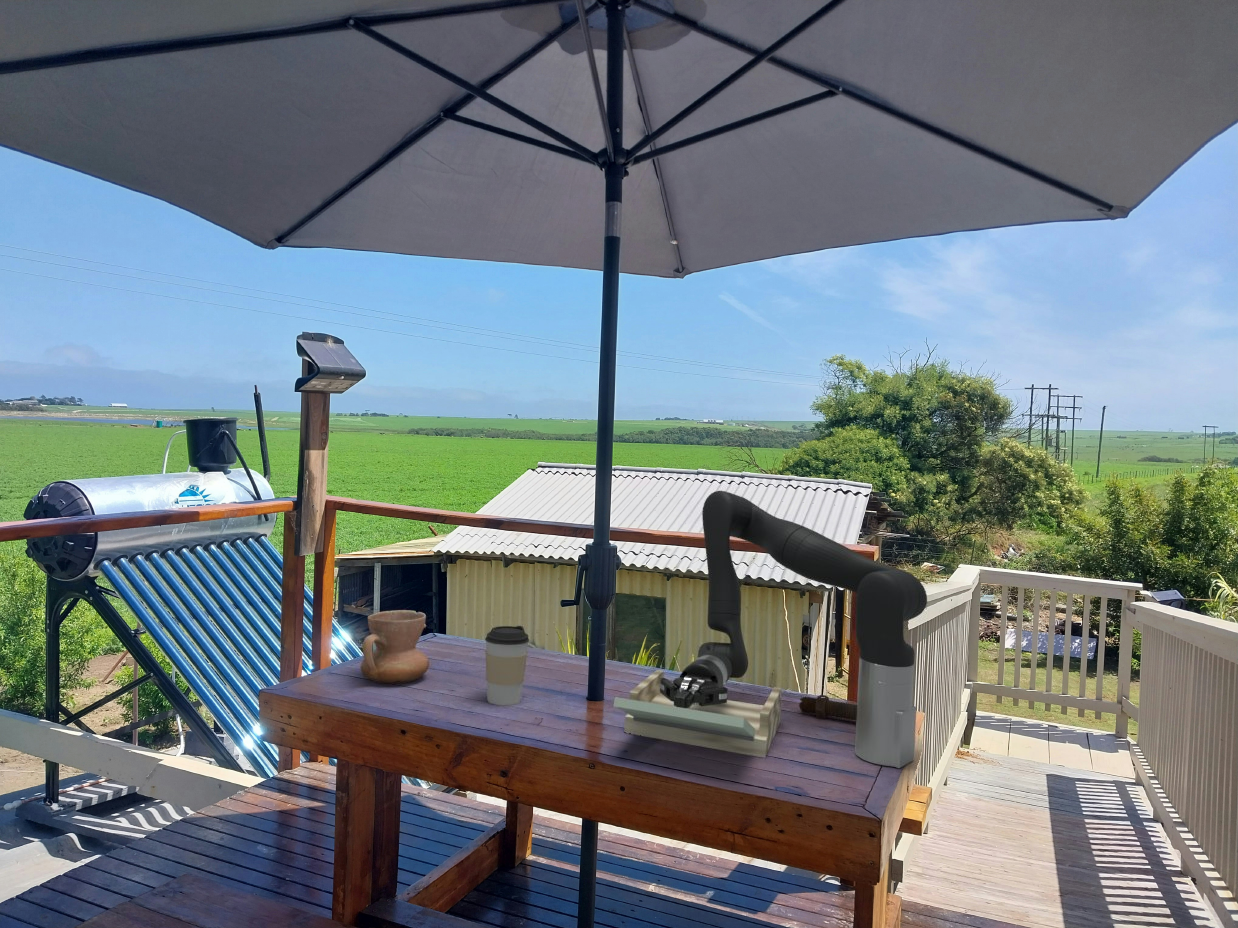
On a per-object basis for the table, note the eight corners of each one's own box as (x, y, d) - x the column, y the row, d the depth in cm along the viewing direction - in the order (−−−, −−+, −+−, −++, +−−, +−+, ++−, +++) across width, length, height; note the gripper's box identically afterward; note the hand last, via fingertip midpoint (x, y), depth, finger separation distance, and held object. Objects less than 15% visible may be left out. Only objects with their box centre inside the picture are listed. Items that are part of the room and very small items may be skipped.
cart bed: (655, 702, 157) (656, 669, 157) (779, 723, 148) (781, 688, 148) (624, 732, 138) (626, 694, 138) (764, 757, 130) (766, 717, 130)
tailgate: (636, 709, 138) (615, 696, 126) (755, 728, 131) (744, 717, 119) (634, 720, 137) (612, 709, 125) (753, 741, 130) (742, 731, 118)
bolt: (801, 720, 157) (875, 733, 150) (796, 713, 153) (871, 726, 146) (805, 693, 160) (878, 704, 152) (800, 686, 156) (874, 697, 149)
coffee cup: (494, 709, 147) (498, 633, 147) (474, 696, 155) (478, 624, 155) (533, 703, 153) (537, 630, 153) (512, 691, 160) (516, 621, 160)
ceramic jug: (398, 665, 176) (400, 605, 176) (446, 675, 169) (448, 612, 169) (337, 683, 160) (339, 617, 160) (386, 695, 153) (388, 626, 153)
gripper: (671, 653, 143) (644, 675, 127) (740, 663, 139) (720, 687, 122) (669, 692, 143) (641, 719, 127) (737, 703, 139) (717, 732, 122)
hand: (680, 703), depth 125 cm, fingers closed
